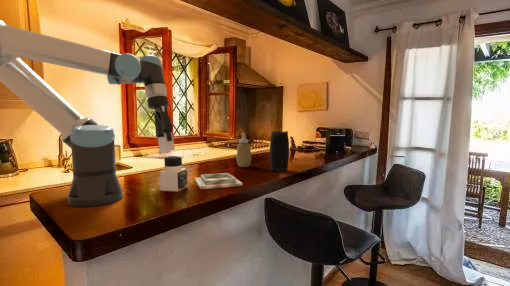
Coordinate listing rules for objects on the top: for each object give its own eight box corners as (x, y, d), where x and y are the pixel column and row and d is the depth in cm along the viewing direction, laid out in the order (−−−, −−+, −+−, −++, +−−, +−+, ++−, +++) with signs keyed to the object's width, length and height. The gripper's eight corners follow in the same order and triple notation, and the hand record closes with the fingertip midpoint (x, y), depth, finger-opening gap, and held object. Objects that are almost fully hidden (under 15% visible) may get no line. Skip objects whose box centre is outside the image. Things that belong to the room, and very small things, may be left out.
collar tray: (200, 189, 101) (200, 182, 100) (194, 180, 116) (194, 174, 115) (242, 185, 106) (242, 179, 106) (231, 177, 121) (231, 171, 121)
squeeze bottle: (248, 168, 143) (248, 133, 141) (234, 167, 145) (233, 133, 144) (253, 165, 150) (253, 132, 149) (239, 164, 153) (239, 132, 151)
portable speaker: (270, 168, 141) (271, 130, 139) (289, 169, 139) (289, 130, 138) (268, 172, 133) (269, 131, 131) (288, 172, 131) (288, 131, 129)
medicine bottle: (178, 191, 97) (177, 158, 96) (159, 190, 99) (158, 157, 97) (187, 186, 104) (186, 155, 103) (169, 186, 105) (169, 154, 104)
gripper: (173, 87, 96) (185, 147, 96) (161, 103, 118) (170, 152, 118) (151, 88, 93) (163, 151, 92) (143, 105, 114) (152, 155, 114)
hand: (167, 152), depth 105 cm, fingers open, 13 cm apart
